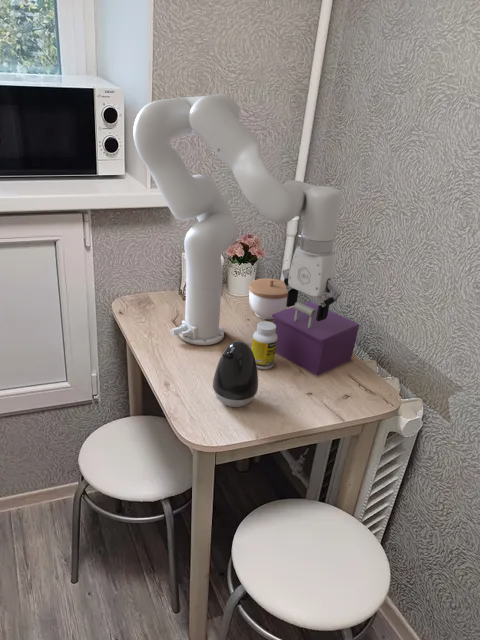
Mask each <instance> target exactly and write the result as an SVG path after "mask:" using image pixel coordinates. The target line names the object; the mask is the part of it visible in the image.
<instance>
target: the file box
mask: <svg viewBox="0 0 480 640" xmlns="http://www.w3.org/2000/svg"><path fill="white" fill-rule="evenodd" d="M272 323H274V324H275V325H276V332H275V333H276V334H277V336H278V340H277V346H276V353H275V354H277V355H279V356H282V357H283V358H285V359H286V360H288V361H290V362H291V363H294V364H295V365H296V366H299V367H301V368H302V369H304V370H306V371H307V372H309V373H311V374H313V375H315V376H316V377H318V376H320V375H323V374H325V373H327V372H329V371H331V370H334V369H336V368H338V367H340V366H342V365H344V364H347V363H348V362H350V361H352V359H353V354H354V350H355V349H354V348H355V345H356V341H357V336H358V332H359V327H360V326H359V327H357V328H355V329H353V330H350V331H348V332H345V333H343V334H341V335H338V336H336V337H333V338H331V339H329V340H326V341H324V342H320V341H318V340H316V339H314V338H312V337H311V336H309V335H307V334H305V333H303V332H301V331H299V330H297V329H295V328H293V327H291V326H289V325H287V324H285V323H283V322H281V321H279V320H278V319H276V318H274V319H273V322H272Z"/></svg>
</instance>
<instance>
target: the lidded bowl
mask: <svg viewBox="0 0 480 640" xmlns="http://www.w3.org/2000/svg"><path fill="white" fill-rule="evenodd" d="M287 296H288V291H287V290H286V285H285V283H284V280H282V279H281V280H280V279H276V278H268V277H267V278H266V277H265V278H257V279H255V280H252V281H251V282H250V283H249V285H248V302H249V306H250V308H251V310H252V311H253V312H254V314H255V316H256V317H257V318H259V319H263V320H274V317H272V314H274V313H277V312H280V311H283V310H286V309H288V307H287V306H286V304H287Z"/></svg>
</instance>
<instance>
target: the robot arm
mask: <svg viewBox="0 0 480 640" xmlns="http://www.w3.org/2000/svg"><path fill="white" fill-rule="evenodd" d="M240 116H241V114H240V108H239V106H238V104H237V101H236V100H235V99H233V97H231V96H229V94H224V93H216V94H210V95H199V96H183V97H182V96H181V97H173V98H165V99H158V100H154V101H151V102H149V103H147V104H145V105H144V106H143V107H142V108H141V109H140V111H139V112H138V114H137V115H136V117H135V120H134V124H133V130H132V131H133V142H134V146H135V149H136V151H137V154H138V156H139V158H140V159H141V160H142V163H143V164H144V166H145V167H146V169H147V170H148V172H149V174H150V175H151V177H152V180H153V181H154V183H155V185H156V187H157V189H158V191H159V192H160V195H161V196H162V198H163V200H164V201H165V203H166V205H167V207H168V209H169V211H170V212H171V214H172V215H173V216H174V218H175V219H177V220H178V221H181V222H187V221H191V220H193V219H196V220H197V221H198V222H196V223H194V224H193V225H192V226H191V227H190V228H189V230H188V231H187V232H186V234H185V237H184V243H183V248H184V256H185V267H186V268H185V269H186V270H185V271H186V274H185V275H186V276H185V278H186V279H185V308H184V311H185V312H184V319H183V320H181V324H180V325H179V326H177V327H174V328H171V329H170V331H169V333H170V335H171V337H175V336H178V335H179V337H180V338H181V339H182V340H183V341H184V342H187V343H188V344H192V345H196V346H210V345H214V344H217V343H219V342H221V341H222V340H223V339H224V337H225V330H224V329H223V328H222V326H220V320H221V319H220V318H221V304H222V292H223V277H224V276H223V275H224V273H223V263H222V254H223V253H224V252H225V251H227V250H228V249H229V248H232V246H233V245H234V244H235V243H236V241H237V240H238V235H239V228H238V223H237V221H236V219H235V217H234V215H233V213H232V211H231V209H230V207H229V205H228V203H227V201H226V199H225V197H224V195H223V193H222V192H221V190H220V188H219V186H218V184H217V183H216V182H215V181H214V180H213V179H212V178H210V177H209V176H208V175H206V174H205V175H204V174H194V175H192V174H191V172H190V171H189V169H188V167H187V165H186V163H185V161H184V159H183V157H182V156H181V154H180V153H179V152H178V151H177V150H176V149H175V148H174V147H173V145H172V144H171V143H170V141H171V140H174V139H177V138H181V137H187V136H189V137H190V136H198V137H199V138H200V139H201V140H202V141H203V142H204V143H205V144H206V145H207V146H208V148H210V149H211V150H212V151H213V152H214V153H215V154H216V156H217V157H219V159H221V160H222V162H223V163H224V164H225V165H226V166H227V167H228V168H229V169H230V170H231V171H232V174H233V176H234V179H235V181H236V182H237V185H238V186H239V189H240V190H241V192H242V194H243V195H244V196H245V198H246V199H247V200H248V202H249V203H251V205H253V206H254V208H256V210H258V212H259V213H260V214H262V216H264V217H265V218H266V219H267V220H269V221H270V222H272V223H274V224H278V225H281V224H287V223H288V222H291V221H292V220H293V219H295V218H296V217H298V216H303V218H302V226H301V233H299V234H298V235H297V239H298V240H299V245H297V246H296V247H295V251H294V252H293V255H292V260H291V263H290V268H286V269H283V270H282V276H283V281H284V283H285V285H286V290H287V291H288V296H287V304H286V306H287V308H292V307H294V305H295V303H296V302H298V297H299V292H300V293H303V294H305V295H306V296H307V295H308V296H310V297H312V298H317V299H318V301H319V304H318V305H319V306H318V311H317V317H316V320H317V321H318V322H319V321H321V320H324V319H326V318H327V315H328V310H330V305H332V304H333V303H335V302H336V301H338V299H339V298H340V296H341V295H342V291H341V289H339V287H338V286H337V285H336V283H335V282H334V273H335V253H334V252H333V251H334V245H335V240H336V239H335V238H336V233H337V227H338V222H339V217H340V210H341V205H342V197H343V194H342V192H341V190H340V189H338V188H336V187H333V186H327V185H315V184H310V183H307V182H304V181H301V180H294V179H293V180H288V181H286V182H284V183H280V181H278V180H277V178H275V177H274V175H273V173H271V172H270V171H269V169H268V168H267V166H265V163H264V161H263V159H262V155H261V153H262V152H261V142H260V139H259V138H258V137H257V136H256V135H255V134H254V133H253V132H252V131H251V130H250V129H249V128H248V127H247V126H246V125H245V124H244V123H243V122H242V121H241V120H240V118H241V117H240ZM330 293H331V295H330Z"/></svg>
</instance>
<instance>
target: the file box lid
mask: <svg viewBox="0 0 480 640" xmlns="http://www.w3.org/2000/svg"><path fill="white" fill-rule="evenodd" d="M319 305H320V304H316V303H314V302H312V301H311V300H310V301H309V300H308V301H306V302H300V301H297V302H296V303H295V305H294V306H291V307H288V308H287V309H286V310H283V311H280V312H277V313H274V314H272V317H274V318H276V319H278V320H279V321H281V322H283V323H285V324H287V325H289V326H291V327H293V328H295V329H297V330H299V331H301V332H303V333H305V334H307V335H309V336H311V337H312V338H314V339H316V340H318V341H320V342H324V341H326V340H329V339H331V338H333V337H336V336H338V335H341V334H343V333H345V332H348V331H350V330H353V329H355V328H357V327H360V323H358V322H356V321H353V320H351V319H349V318H346V317H345V316H342V315H341V314H338V313H336V312H334V311H332V310H330V309H329V310H328V315H327V318H326V319H324V320H321V321H319V322H318V321H317V320H316V317H317V311H318V306H319Z"/></svg>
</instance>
